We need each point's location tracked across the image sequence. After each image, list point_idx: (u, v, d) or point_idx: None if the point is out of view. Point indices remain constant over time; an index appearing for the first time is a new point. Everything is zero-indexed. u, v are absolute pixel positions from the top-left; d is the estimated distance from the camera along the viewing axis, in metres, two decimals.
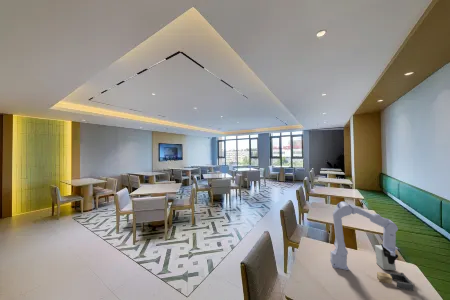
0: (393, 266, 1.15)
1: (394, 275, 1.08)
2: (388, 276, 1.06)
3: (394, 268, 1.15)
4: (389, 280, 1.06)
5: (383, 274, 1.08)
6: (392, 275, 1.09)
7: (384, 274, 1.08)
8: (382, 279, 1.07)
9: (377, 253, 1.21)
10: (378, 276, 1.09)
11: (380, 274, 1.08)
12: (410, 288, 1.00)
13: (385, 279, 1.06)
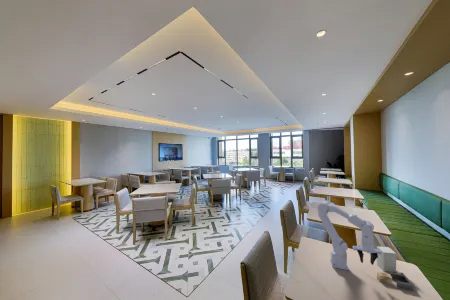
0: (394, 268, 1.14)
1: (394, 275, 1.08)
2: (388, 276, 1.06)
3: (394, 270, 1.14)
4: (389, 280, 1.06)
5: (383, 274, 1.08)
6: (392, 275, 1.09)
7: (384, 274, 1.08)
8: (382, 279, 1.07)
9: (379, 254, 1.20)
10: (378, 276, 1.09)
11: (380, 274, 1.08)
12: (410, 288, 1.00)
13: (385, 279, 1.06)
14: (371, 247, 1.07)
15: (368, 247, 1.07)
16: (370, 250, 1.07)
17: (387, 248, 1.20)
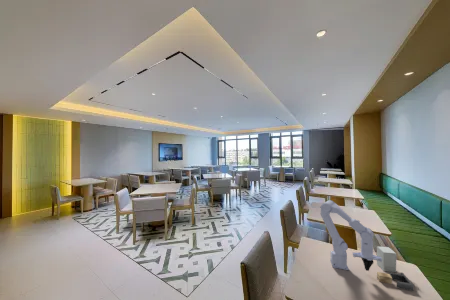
0: (394, 268, 1.14)
1: (394, 275, 1.08)
2: (388, 276, 1.06)
3: (394, 270, 1.14)
4: (389, 280, 1.06)
5: (383, 274, 1.08)
6: (392, 275, 1.09)
7: (384, 274, 1.08)
8: (382, 279, 1.07)
9: (379, 254, 1.20)
10: (378, 276, 1.09)
11: (380, 274, 1.08)
12: (410, 288, 1.00)
13: (385, 279, 1.06)
14: (371, 254, 1.07)
15: (368, 254, 1.08)
16: (370, 257, 1.07)
17: (387, 248, 1.20)
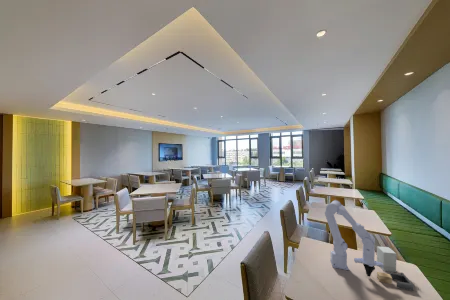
0: (394, 268, 1.14)
1: (394, 275, 1.08)
2: (388, 276, 1.06)
3: (394, 270, 1.14)
4: (389, 280, 1.06)
5: (383, 274, 1.08)
6: (392, 275, 1.09)
7: (384, 274, 1.08)
8: (382, 279, 1.07)
9: (379, 254, 1.20)
10: (378, 276, 1.09)
11: (380, 274, 1.08)
12: (410, 288, 1.00)
13: (385, 279, 1.06)
14: (373, 260, 1.07)
15: (370, 260, 1.07)
16: (372, 263, 1.07)
17: (387, 248, 1.20)
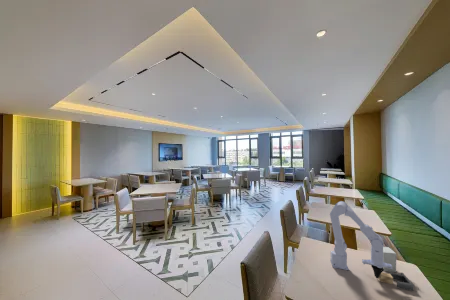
0: (394, 268, 1.14)
1: (394, 275, 1.08)
2: (389, 276, 1.06)
3: (394, 270, 1.14)
4: (390, 280, 1.05)
5: (384, 274, 1.08)
6: (392, 275, 1.09)
7: (385, 274, 1.08)
8: (383, 279, 1.07)
9: None
10: (379, 276, 1.08)
11: (381, 274, 1.08)
12: (410, 288, 1.00)
13: (386, 279, 1.06)
14: (381, 261, 1.06)
15: (378, 261, 1.06)
16: (380, 264, 1.06)
17: (387, 248, 1.20)
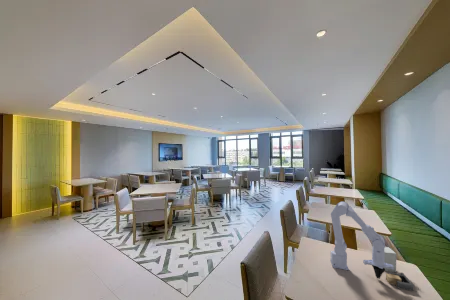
0: (394, 268, 1.14)
1: None
2: (397, 278, 1.05)
3: (394, 270, 1.14)
4: None
5: (392, 276, 1.06)
6: None
7: (393, 276, 1.06)
8: (391, 281, 1.05)
9: None
10: (387, 278, 1.07)
11: (389, 276, 1.07)
12: (410, 288, 1.00)
13: (394, 281, 1.05)
14: (383, 262, 1.06)
15: (379, 262, 1.06)
16: (381, 265, 1.06)
17: (387, 248, 1.20)
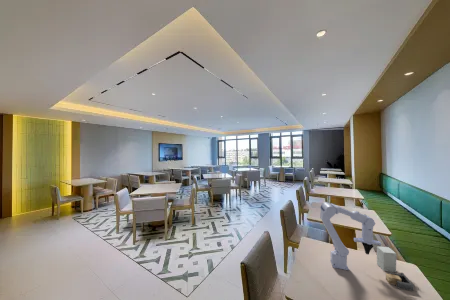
0: (394, 268, 1.14)
1: None
2: (397, 278, 1.05)
3: (394, 270, 1.14)
4: None
5: (392, 276, 1.06)
6: None
7: (393, 276, 1.06)
8: (391, 281, 1.05)
9: (379, 254, 1.20)
10: (387, 278, 1.07)
11: (389, 276, 1.06)
12: (410, 288, 1.00)
13: (394, 281, 1.05)
14: (371, 239, 1.15)
15: (368, 239, 1.16)
16: (370, 241, 1.15)
17: (387, 248, 1.20)
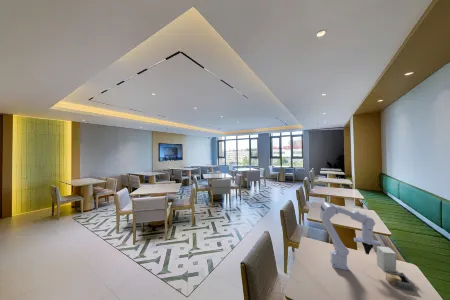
0: (394, 268, 1.14)
1: None
2: (397, 278, 1.05)
3: (394, 270, 1.14)
4: None
5: (392, 276, 1.06)
6: None
7: (393, 276, 1.06)
8: (391, 281, 1.05)
9: (379, 254, 1.20)
10: (387, 278, 1.07)
11: (389, 276, 1.07)
12: (410, 288, 1.00)
13: (394, 281, 1.05)
14: (371, 239, 1.15)
15: (368, 239, 1.16)
16: (370, 241, 1.15)
17: (387, 248, 1.20)
